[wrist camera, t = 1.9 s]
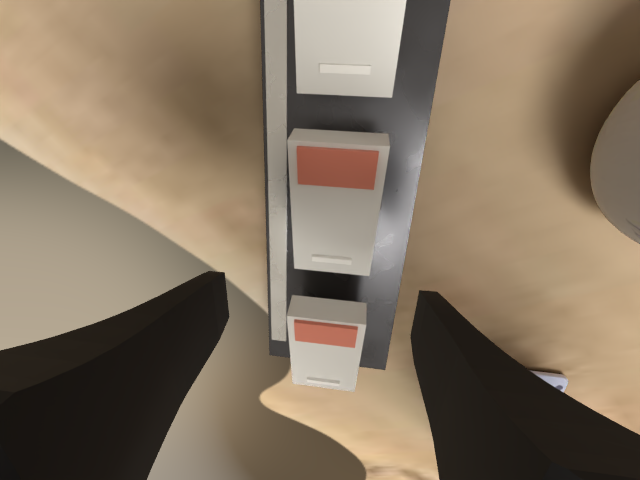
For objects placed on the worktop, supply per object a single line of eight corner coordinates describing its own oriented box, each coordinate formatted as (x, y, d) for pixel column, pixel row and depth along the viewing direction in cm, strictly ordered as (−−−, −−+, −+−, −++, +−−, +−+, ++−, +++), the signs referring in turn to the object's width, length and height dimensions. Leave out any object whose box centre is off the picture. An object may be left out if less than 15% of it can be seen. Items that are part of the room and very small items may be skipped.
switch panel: (381, 334, 24) (386, 384, 20) (281, 323, 25) (264, 368, 20) (447, -73, 14) (485, -151, 10) (279, -73, 15) (246, -144, 11)
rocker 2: (369, 258, 17) (369, 278, 16) (299, 251, 18) (293, 271, 16) (388, 133, 13) (390, 148, 12) (294, 128, 13) (286, 142, 12)
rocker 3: (355, 370, 21) (354, 394, 19) (296, 363, 21) (292, 386, 20) (366, 302, 16) (366, 328, 15) (292, 294, 17) (285, 319, 15)
